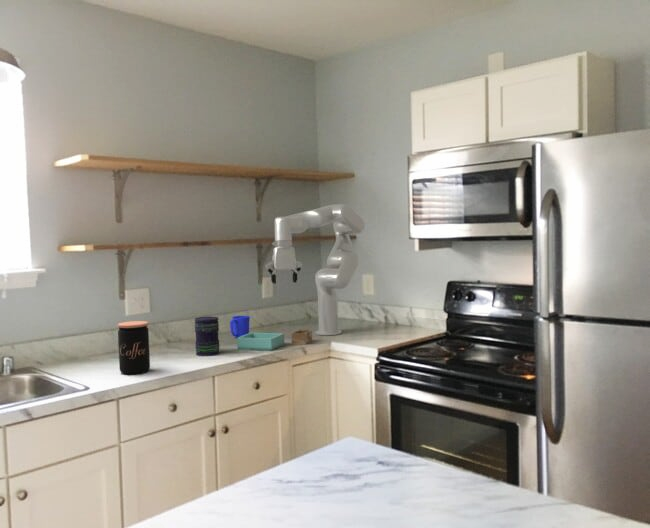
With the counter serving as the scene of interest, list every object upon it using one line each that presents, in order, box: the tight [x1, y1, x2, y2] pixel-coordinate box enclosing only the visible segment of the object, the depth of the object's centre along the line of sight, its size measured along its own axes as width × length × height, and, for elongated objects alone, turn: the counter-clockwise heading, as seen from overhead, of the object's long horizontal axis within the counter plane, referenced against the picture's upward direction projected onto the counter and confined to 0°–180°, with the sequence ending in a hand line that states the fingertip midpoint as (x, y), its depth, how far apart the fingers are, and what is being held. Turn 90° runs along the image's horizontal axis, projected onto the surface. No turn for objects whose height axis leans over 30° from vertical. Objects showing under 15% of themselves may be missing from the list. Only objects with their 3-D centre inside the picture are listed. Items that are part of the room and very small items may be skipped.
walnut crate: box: [291, 329, 313, 346], centre depth 272 cm, size 9×6×5 cm
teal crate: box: [236, 332, 286, 352], centre depth 264 cm, size 14×16×5 cm
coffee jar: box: [117, 320, 151, 376], centre depth 223 cm, size 11×11×18 cm
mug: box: [229, 315, 251, 339], centre depth 288 cm, size 8×12×10 cm
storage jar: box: [194, 316, 221, 357], centre depth 252 cm, size 10×10×15 cm
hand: (284, 282), depth 272 cm, fingers open, 9 cm apart
